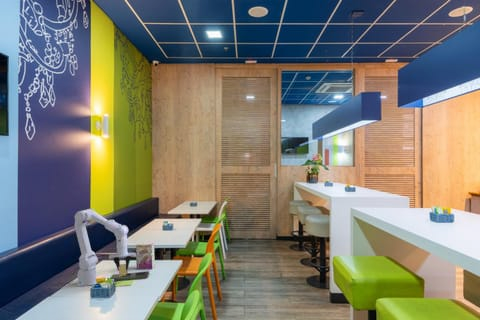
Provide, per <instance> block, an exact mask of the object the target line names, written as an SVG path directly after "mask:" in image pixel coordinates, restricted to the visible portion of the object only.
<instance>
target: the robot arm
mask: <svg viewBox="0 0 480 320" xmlns="http://www.w3.org/2000/svg"><path fill="white" fill-rule="evenodd" d="M73 217H74V229H75V233H76V237H77V241H78V245H79V246H78V247H79V249H80V253H81V255H80V256H79V257H78V260H79V263H78V266H79V270H77V287H85V286H95V285H96V283H97V282H96V279H97V271H96V270H97V269H96V267H97V264H98V262H99V258H98V256H97V255H96V253H95V251H93V250H92V248H91V243H90V239H89V236H88V231H87V228H86V225H87V224H88V222H90V221H95V222H97V223H98V224H101V225H103V226H104V228H105V229H106V230H108V231H110V232H111V233H113V234H114V236H115V239H116V253H113V254H109V256H108V259H109V260H111V259H113V262H114V264H115V266H116V268H117V271H118V272H119V265H120V264H121V262H120V261H121V258H122V259H123V258H125V264H126V270H128V271H129V265H130V261H131V259H132V258H136V252H128V233H129V231H130V230H129V228H128V226H127V225H125V224H121V223H118V222H117V221H115V219H107V218H105V217H104V216H102V215H101V214H99V213H97V211H96V210H94V209H93V208H87V209H83V210H78V211H77V212H76V213H75V215H74V216H73Z"/></svg>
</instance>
